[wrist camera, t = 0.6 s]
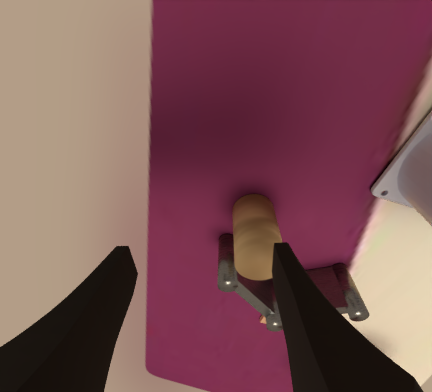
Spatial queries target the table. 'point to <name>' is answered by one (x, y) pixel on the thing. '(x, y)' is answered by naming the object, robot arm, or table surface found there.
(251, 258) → the oak dowel
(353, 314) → the bent rail
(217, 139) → the table surface
